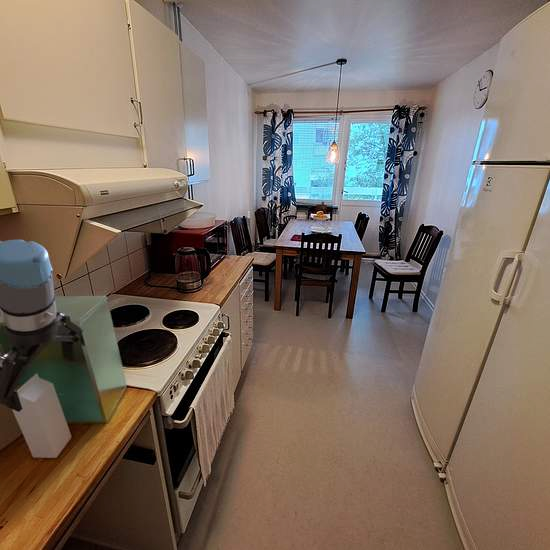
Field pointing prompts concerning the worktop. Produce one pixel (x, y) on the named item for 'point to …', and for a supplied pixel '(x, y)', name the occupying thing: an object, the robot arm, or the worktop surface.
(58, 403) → the milk
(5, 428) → the fridge door
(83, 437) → the worktop surface
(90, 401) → the fridge
